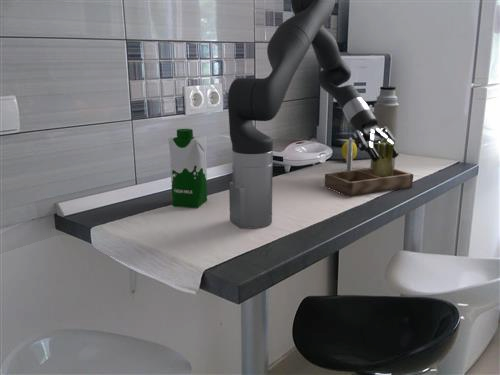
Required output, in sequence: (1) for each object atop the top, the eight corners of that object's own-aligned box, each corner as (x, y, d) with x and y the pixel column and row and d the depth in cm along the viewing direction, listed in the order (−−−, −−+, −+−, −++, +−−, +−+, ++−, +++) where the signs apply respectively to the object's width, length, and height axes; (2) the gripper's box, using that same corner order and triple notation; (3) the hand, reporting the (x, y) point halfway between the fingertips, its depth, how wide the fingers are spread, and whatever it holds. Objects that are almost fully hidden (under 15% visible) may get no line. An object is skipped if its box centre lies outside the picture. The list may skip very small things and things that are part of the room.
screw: (351, 180, 156) (337, 177, 159) (359, 177, 160) (345, 175, 163) (353, 139, 153) (339, 137, 156) (361, 137, 156) (347, 135, 159)
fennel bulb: (369, 180, 152) (371, 141, 148) (381, 178, 154) (383, 140, 151) (383, 184, 147) (386, 144, 144) (395, 182, 149) (398, 143, 146)
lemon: (355, 160, 185) (356, 138, 183) (357, 163, 180) (358, 141, 178) (340, 159, 186) (341, 138, 184) (341, 163, 181) (342, 141, 178)
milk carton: (168, 207, 129) (164, 130, 124) (181, 197, 138) (179, 125, 133) (199, 209, 127) (197, 131, 122) (211, 200, 135) (210, 126, 130)
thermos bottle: (374, 166, 175) (379, 85, 168) (397, 168, 171) (403, 86, 164) (366, 170, 169) (372, 86, 161) (390, 173, 165) (396, 87, 157)
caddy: (349, 197, 138) (350, 183, 137) (324, 186, 148) (325, 173, 147) (412, 187, 148) (413, 174, 147) (384, 178, 158) (385, 166, 157)
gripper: (350, 109, 147) (378, 153, 141) (382, 106, 155) (410, 148, 149) (336, 125, 152) (363, 168, 146) (368, 121, 160) (394, 162, 154)
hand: (386, 158), depth 148 cm, fingers open, 8 cm apart
